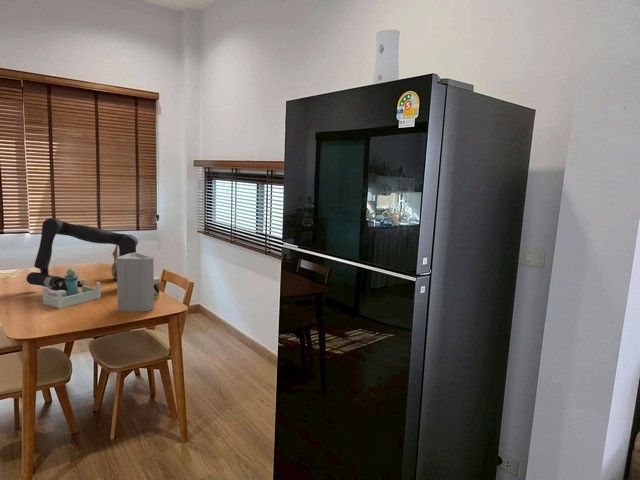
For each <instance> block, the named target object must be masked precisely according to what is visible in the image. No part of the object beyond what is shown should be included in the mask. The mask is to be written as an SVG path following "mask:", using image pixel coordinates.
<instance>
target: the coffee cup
mask: <svg viewBox="0 0 640 480" xmlns="http://www.w3.org/2000/svg"><path fill="white" fill-rule="evenodd" d="M160 288H161V277H160V276H157V275H154V300H157V299H160Z"/></svg>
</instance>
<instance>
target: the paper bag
mask: <svg viewBox="0 0 640 480" xmlns="http://www.w3.org/2000/svg"><path fill="white" fill-rule="evenodd" d="M154 266H155V265H154V257H152V256H149V255H146V254H144V253H140V252H136V253H129V254H126V255H123V256H120V257H119V256H118V257H117V280H116V286H117V288H116V289H117V291H116V296H117V310H118V311H119V312H149V311H153V310H155V299H154V276H155V275H154V274H155V273H154V272H155V271H154V270H155V269H154Z"/></svg>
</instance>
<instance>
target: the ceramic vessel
mask: <svg viewBox="0 0 640 480" xmlns="http://www.w3.org/2000/svg"><path fill="white" fill-rule="evenodd" d="M112 256H113V263H112V264H111V268H110V271H111V275H112V277H113V278H114V279H115V280H116V281H117V257H120V248H119V245H115V248H114V251H113V252H112Z"/></svg>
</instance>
